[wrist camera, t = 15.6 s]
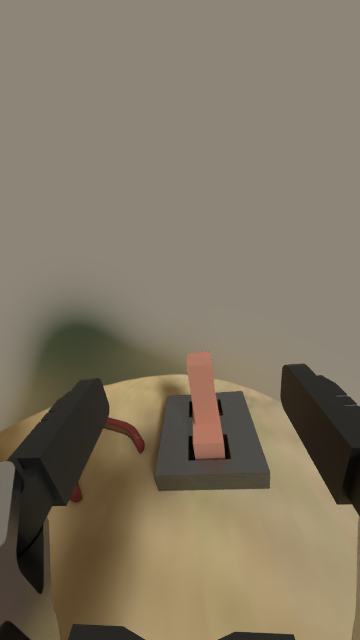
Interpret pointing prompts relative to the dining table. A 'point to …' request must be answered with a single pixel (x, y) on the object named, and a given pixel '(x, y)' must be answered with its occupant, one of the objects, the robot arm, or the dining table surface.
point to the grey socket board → (232, 473)
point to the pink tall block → (204, 408)
